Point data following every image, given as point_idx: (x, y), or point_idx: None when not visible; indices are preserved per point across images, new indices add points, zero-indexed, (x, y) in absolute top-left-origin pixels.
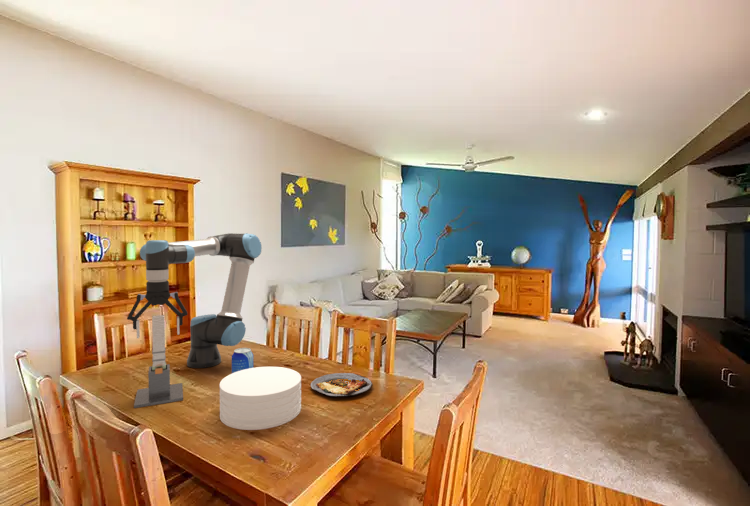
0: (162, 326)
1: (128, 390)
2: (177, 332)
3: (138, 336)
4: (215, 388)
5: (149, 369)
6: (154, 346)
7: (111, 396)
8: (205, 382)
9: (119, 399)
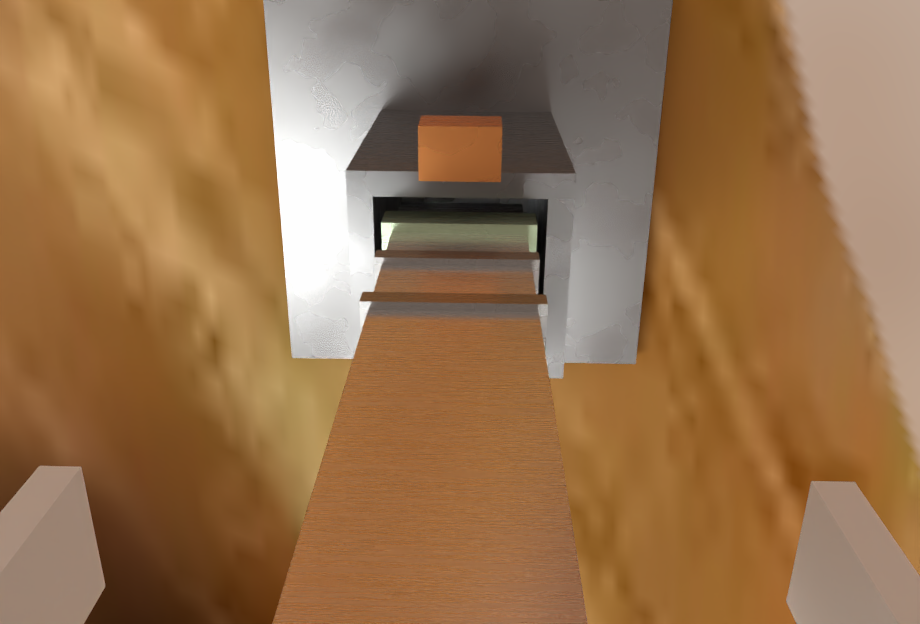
0: (325, 598)
1: (694, 414)
2: (55, 493)
3: (836, 506)
4: (8, 157)
5: (563, 276)
6: (516, 353)
7: (817, 344)
8: (111, 335)
9: (765, 254)
